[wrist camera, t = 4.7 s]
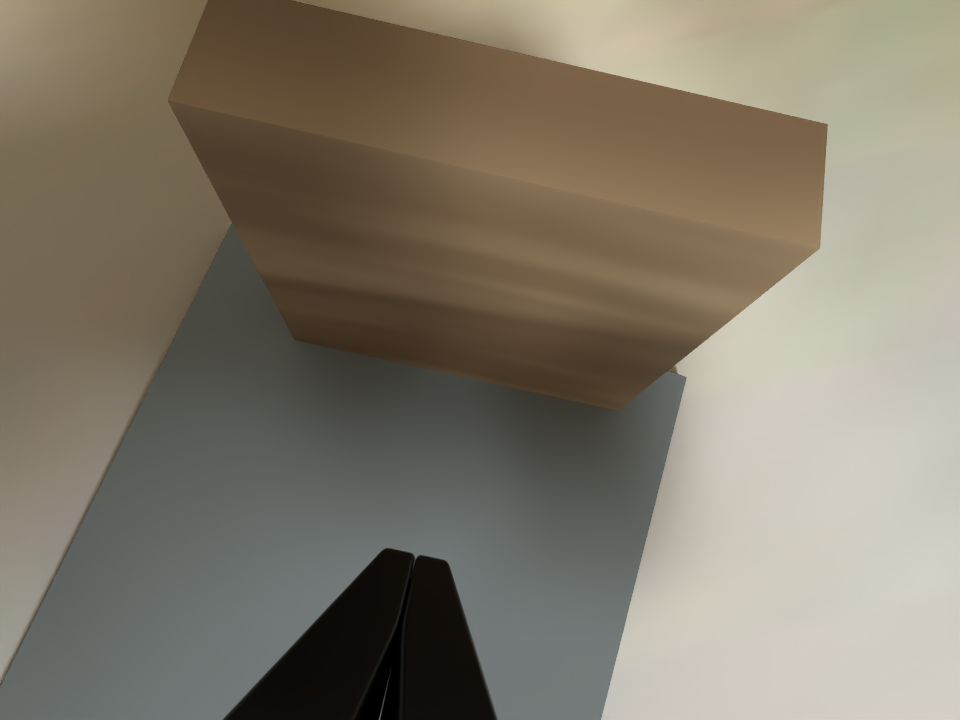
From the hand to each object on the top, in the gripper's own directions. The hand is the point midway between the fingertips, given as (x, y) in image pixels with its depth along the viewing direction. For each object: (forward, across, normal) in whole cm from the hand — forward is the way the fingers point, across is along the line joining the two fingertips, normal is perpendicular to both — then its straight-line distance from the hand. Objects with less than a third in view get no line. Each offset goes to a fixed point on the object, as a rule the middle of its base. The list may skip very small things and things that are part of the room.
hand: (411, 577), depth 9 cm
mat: (+5, +1, +5) cm, 7 cm away
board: (+9, 0, +1) cm, 9 cm away
